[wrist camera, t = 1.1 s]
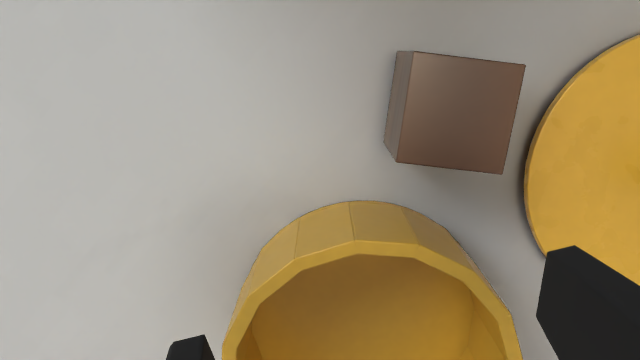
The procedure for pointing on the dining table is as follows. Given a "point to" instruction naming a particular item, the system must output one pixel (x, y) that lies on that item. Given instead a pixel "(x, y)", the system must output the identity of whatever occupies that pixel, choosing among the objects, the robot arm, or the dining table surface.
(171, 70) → the dining table surface
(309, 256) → the tin
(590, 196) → the tin lid
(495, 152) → the walnut block
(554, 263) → the robot arm
